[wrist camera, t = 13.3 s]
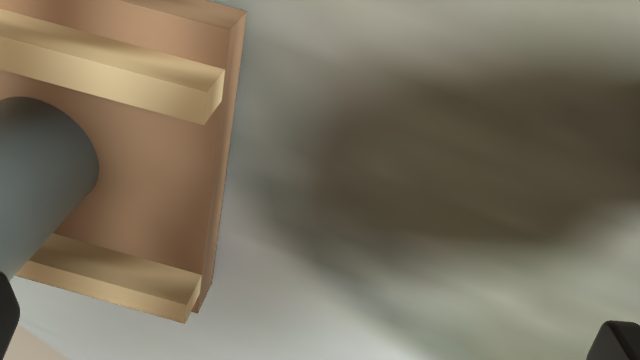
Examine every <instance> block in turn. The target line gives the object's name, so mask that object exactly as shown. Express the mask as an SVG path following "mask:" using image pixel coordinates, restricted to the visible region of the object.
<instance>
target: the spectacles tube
mask: <svg viewBox="0 0 640 360" xmlns="http://www.w3.org/2000/svg"><path fill="white" fill-rule="evenodd" d="M98 176H99V162H98V157H97V154H96V151H95V149H94V147H93V144H92V142H91V141H90V139H89V138H88V136H87V135H86V133H85V132H84V131H83V129H82V128H81V127H80V126H79V125H78V124H77V123H76V122H75V121H74V120H73V119H72V118H71V117H69V116H68V115H67V114H65V113H64V112H63V111H61V110H59V109H58V108H56V107H54V106H52V105H50V104H48V103H46V102H44V101H41V100H38V99H34V98H30V97H17V96H16V97H9V98H5V99H2V100H0V271H2V272H3V273H4V274H5V275H6V276H7V278H8V280H9V281H10V280H11V279H12V278H13V277H14V275H15V274H16V273H17V272H18V271H19V270H20V269H21V268H22V267H23V266H24V264H25V263H26V262H27V261H28V260H29V259H30V258H31V257H32V256H33V254H34V253H35V252H36V251H37V250H38V249H39V248H40V247H41V246H42V244H43V243H44V242H45V241H46V240H47V239H48V238H49V237H50V236H51V235H52V233H53V232H54V231H55V230H56V229H57V228H58V227H59V226H60V225H61V223H62V222H63V221H64V220H65V219H66V218H67V217H68V216H69V215H70V213H71V212H72V211H73V210H74V209H75V208H76V207H77V206H78V205H79V204H80V202H81V201H82V200H83V199H84V198H85V197H86V196H87V195H88V194H89V192H90V191H91V190H92V189H93V188H94V186H95V184H96V182H97V180H98Z"/></svg>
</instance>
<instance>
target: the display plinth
mask: <svg viewBox="0 0 640 360" xmlns="http://www.w3.org/2000/svg"><path fill="white" fill-rule="evenodd" d="M246 17H247V11H244V10H240V9H236V8H233V7H229V6H225V5H221V4H218V3H214V2H210V1H206V0H0V100H2V99H5V98H9V97H16V96H17V97H30V98H34V99H38V100H41V101H44V102H46V103H48V104H50V105H52V106H54V107H56V108H58V109H59V110H61V111H63V112H64V113H65V114H67V115H68V116H69V117H71V118H72V119H73V120H74V121H75V122H76V123H77V124H78V125H79V126H80V127H81V128H82V129H83V131H84V132H85V133H86V135H87V136H88V138H89V139H90V141H91V142H92V144H93V147H94V149H95V151H96V154H97V157H98V162H99V176H98V180H97V182H96V184H95V186H94V188H93V189H92V190H91V191H90V192H89V194H88V195H87V196H86V197H85V198H84V199H83V200H82V201H81V202H80V204H79V205H78V206H77V207H76V208H75V209H74V210H73V211H72V212H71V213H70V215H69V216H68V217H67V218H66V219H65V220H64V221H63V222H62V223H61V225H60V226H59V227H58V228H57V229H56V230H55V231H54V232H53V233H52V235H51V236H50V237H49V238H48V239H47V240H46V241H45V242H44V243H43V244H42V246H41V247H40V248H39V249H38V250H37V251H36V252H35V253H34V254H33V256H32V257H31V258H30V259H29V260H28V261H27V262H26V263H25V264H24V266H23V267H22V268H21V269H20V270H19V271H18V272H17V273H16V274H15V276H18V277H22V278H25V279H29V280H32V281H36V282H40V283H43V284H47V285H50V286H54V287H57V288H61V289H64V290H68V291H71V292H75V293H78V294H82V295H85V296H89V297H93V298H96V299H100V300H103V301H107V302H110V303H114V304H117V305H121V306H124V307H128V308H131V309H135V310H138V311H142V312H145V313H149V314H153V315H156V316H160V317H163V318H167V319H170V320H174V321H177V322H181V323H184V324H185V323H186V321H187V319H188V317H189V315H190V313H191V312H194V313H198V311H199V309H200V307H201V305H202V303H203V301H204V299H205V297H206V294H207V292H208V290H209V288H210V286H211V284H212V278H213V270H214V262H215V255H216V247H217V239H218V232H219V224H220V216H221V209H222V201H223V193H224V186H225V178H226V170H227V162H228V155H229V147H230V139H231V132H232V124H233V116H234V109H235V101H236V93H237V86H238V78H239V70H240V63H241V55H242V47H243V40H244V32H245V24H246Z"/></svg>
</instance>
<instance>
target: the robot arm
mask: <svg viewBox="0 0 640 360" xmlns="http://www.w3.org/2000/svg"><path fill="white" fill-rule="evenodd" d="M19 317H20V307H19V304H18V302H17V299H16V297H15V294H14V292H13V290H12V287H11V285H10V283H9V280H8V278H7V276H6V275H5V274H4V273H3V272H2V271H0V360H3V358H4V355H5V353H6V351H7V348H8V346H9V343H10V341H11V338H12V336H13V334H14V331H15V329H16V327H17V324H18V321H19ZM586 360H640V326H639V325H638V324H636V323H633V322H624V321H612V320H610V321H606V322H605V323H603V325H602V326H601V328H600V330H599V332H598V334H597V336H596V338H595V340H594V342H593V344H592V346H591V348H590V351H589V353H588V355H587V359H586Z"/></svg>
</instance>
